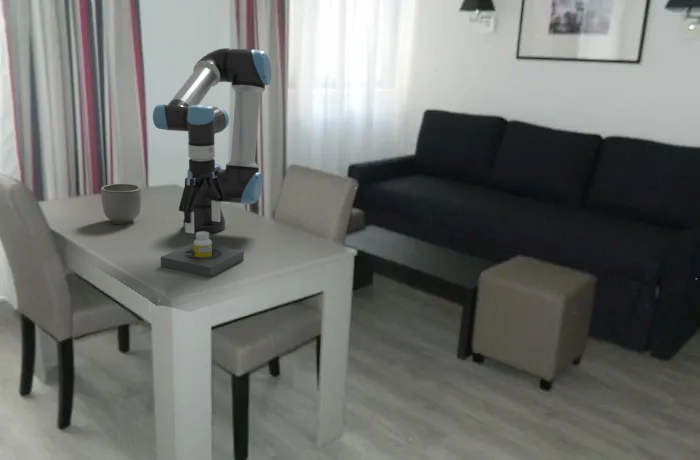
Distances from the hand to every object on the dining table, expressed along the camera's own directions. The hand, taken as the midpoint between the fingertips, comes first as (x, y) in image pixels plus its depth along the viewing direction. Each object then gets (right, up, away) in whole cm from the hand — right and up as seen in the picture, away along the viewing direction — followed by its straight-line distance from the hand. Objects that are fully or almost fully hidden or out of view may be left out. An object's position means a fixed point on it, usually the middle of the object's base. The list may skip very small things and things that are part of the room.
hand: (203, 226), depth 197 cm
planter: (-39, +2, +41) cm, 56 cm away
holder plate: (-1, -11, +3) cm, 12 cm away
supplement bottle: (-1, -11, +3) cm, 12 cm away
